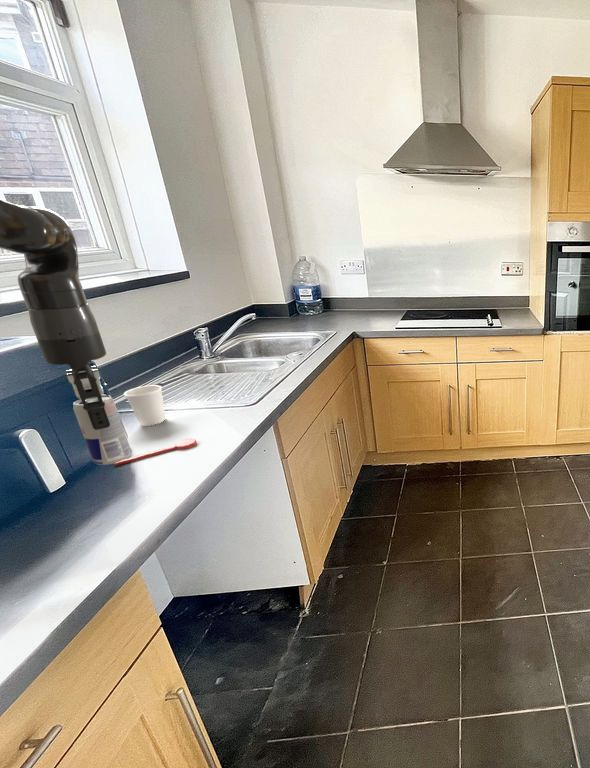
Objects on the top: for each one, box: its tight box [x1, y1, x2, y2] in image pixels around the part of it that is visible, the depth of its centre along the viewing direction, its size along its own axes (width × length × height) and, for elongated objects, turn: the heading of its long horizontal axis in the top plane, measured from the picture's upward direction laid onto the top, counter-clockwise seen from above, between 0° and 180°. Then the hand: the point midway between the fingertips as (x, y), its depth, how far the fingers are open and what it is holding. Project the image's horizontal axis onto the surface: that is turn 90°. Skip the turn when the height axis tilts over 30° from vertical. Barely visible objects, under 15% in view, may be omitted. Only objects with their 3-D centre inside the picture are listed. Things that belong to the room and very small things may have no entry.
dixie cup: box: [123, 384, 166, 427], centre depth 119 cm, size 8×8×10 cm
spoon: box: [113, 438, 198, 467], centre depth 103 cm, size 16×4×1 cm, turn 136°
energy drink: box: [72, 394, 132, 466], centre depth 77 cm, size 5×5×12 cm
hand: (100, 422), depth 76 cm, fingers closed on energy drink, 5 cm apart
